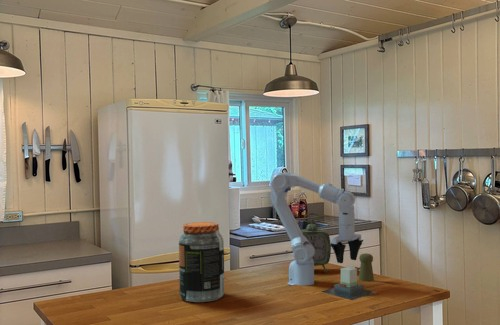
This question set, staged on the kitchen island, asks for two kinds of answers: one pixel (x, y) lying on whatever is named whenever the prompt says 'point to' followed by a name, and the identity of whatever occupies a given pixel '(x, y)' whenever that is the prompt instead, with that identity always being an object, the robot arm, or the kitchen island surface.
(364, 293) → the stand base
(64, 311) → the kitchen island surface
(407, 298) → the kitchen island surface
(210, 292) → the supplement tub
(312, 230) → the tabletop clock
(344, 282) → the pale grey block
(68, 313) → the kitchen island surface
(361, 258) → the green pawn
